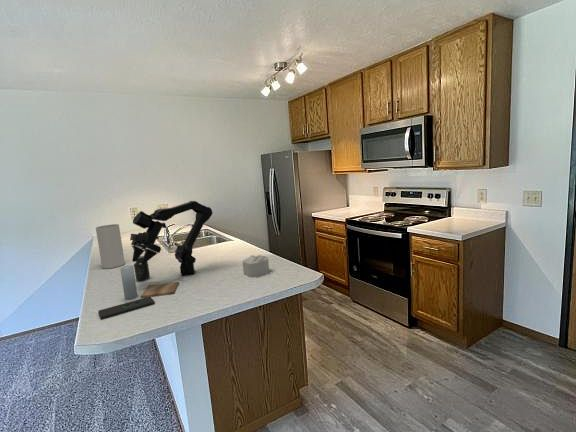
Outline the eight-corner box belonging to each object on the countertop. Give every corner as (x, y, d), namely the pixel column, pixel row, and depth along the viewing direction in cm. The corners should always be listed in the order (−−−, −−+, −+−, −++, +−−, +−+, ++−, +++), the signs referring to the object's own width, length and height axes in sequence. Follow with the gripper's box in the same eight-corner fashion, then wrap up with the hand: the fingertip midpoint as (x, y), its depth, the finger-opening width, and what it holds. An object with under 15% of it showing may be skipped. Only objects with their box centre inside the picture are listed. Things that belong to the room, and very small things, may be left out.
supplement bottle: (153, 277, 172) (150, 255, 170) (144, 281, 165) (140, 259, 163) (142, 276, 174) (139, 255, 172) (133, 281, 167) (129, 259, 165)
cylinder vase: (123, 266, 197) (117, 226, 193) (100, 270, 192) (93, 229, 188) (125, 261, 208) (120, 223, 204) (103, 265, 204) (97, 226, 200)
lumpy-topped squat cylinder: (241, 273, 167) (240, 257, 166) (262, 267, 175) (261, 252, 173) (251, 278, 159) (250, 261, 157) (273, 271, 166) (272, 255, 165)
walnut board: (178, 283, 159) (178, 281, 159) (174, 293, 146) (173, 291, 145) (148, 287, 157) (148, 285, 157) (141, 298, 143) (140, 295, 143)
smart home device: (155, 301, 135) (100, 317, 124) (155, 305, 135) (101, 321, 124) (150, 295, 142) (97, 310, 130) (150, 299, 142) (98, 314, 130)
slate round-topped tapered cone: (138, 294, 148) (134, 264, 146) (135, 298, 143) (131, 268, 141) (126, 295, 147) (122, 266, 145) (123, 300, 142) (118, 269, 140)
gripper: (129, 224, 158) (113, 254, 153) (147, 226, 146) (131, 259, 141) (148, 233, 166) (134, 262, 161) (167, 236, 153) (153, 268, 148)
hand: (137, 262), depth 152 cm, fingers open, 9 cm apart
